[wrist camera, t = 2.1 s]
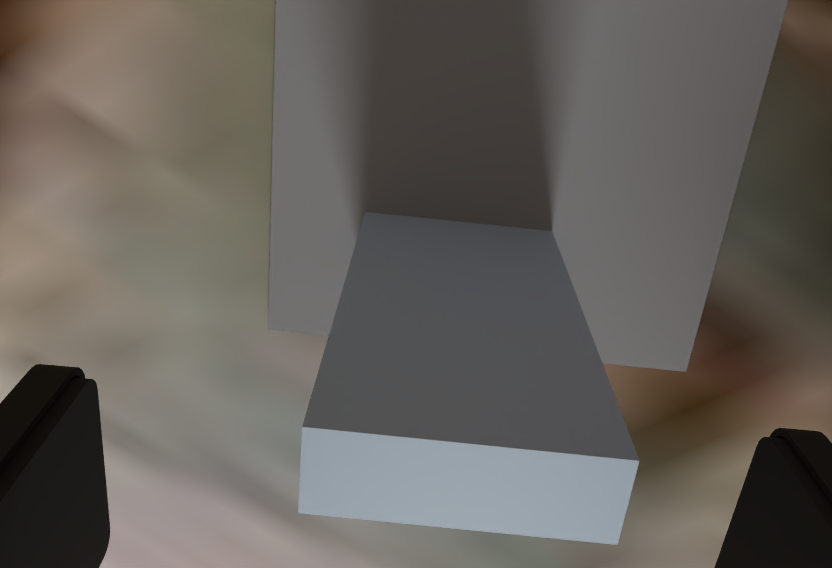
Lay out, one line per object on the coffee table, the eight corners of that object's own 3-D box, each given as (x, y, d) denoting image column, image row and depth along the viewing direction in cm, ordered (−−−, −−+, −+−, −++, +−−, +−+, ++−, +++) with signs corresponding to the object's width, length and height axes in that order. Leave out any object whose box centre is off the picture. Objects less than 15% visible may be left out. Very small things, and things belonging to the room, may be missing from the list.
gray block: (552, 230, 21) (639, 460, 11) (542, 285, 21) (617, 544, 12) (365, 211, 21) (301, 426, 11) (360, 267, 21) (297, 513, 12)
